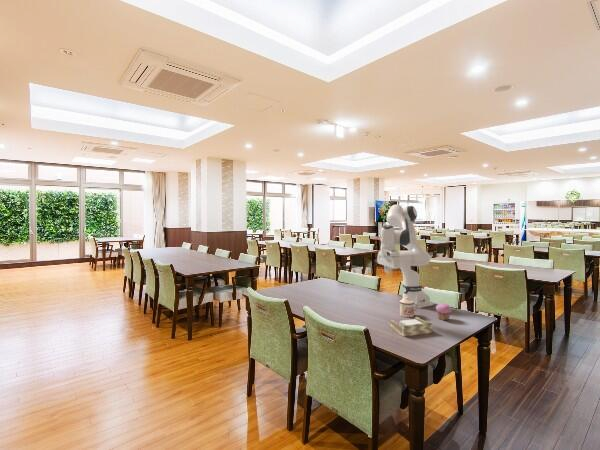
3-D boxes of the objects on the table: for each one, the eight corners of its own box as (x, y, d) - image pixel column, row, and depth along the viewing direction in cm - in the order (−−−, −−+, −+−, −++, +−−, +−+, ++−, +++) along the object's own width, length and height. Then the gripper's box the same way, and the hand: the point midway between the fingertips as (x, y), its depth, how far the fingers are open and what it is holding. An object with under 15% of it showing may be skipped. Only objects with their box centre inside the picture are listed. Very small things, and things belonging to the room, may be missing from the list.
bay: (416, 324, 186) (416, 314, 186) (432, 332, 173) (432, 322, 173) (390, 327, 182) (389, 318, 181) (403, 336, 169) (403, 326, 168)
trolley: (414, 326, 184) (414, 318, 183) (424, 332, 175) (424, 323, 174) (397, 328, 181) (397, 320, 180) (406, 334, 172) (406, 325, 172)
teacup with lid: (404, 318, 198) (404, 299, 198) (396, 313, 207) (396, 296, 207) (421, 316, 201) (421, 298, 200) (413, 312, 210) (413, 294, 209)
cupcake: (445, 316, 200) (445, 301, 199) (454, 321, 191) (454, 304, 191) (433, 317, 198) (432, 301, 198) (441, 322, 190) (441, 305, 189)
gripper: (374, 249, 207) (374, 270, 208) (392, 254, 188) (392, 277, 188) (383, 249, 209) (383, 269, 210) (401, 253, 189) (401, 276, 190)
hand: (387, 273), depth 199 cm, fingers closed
